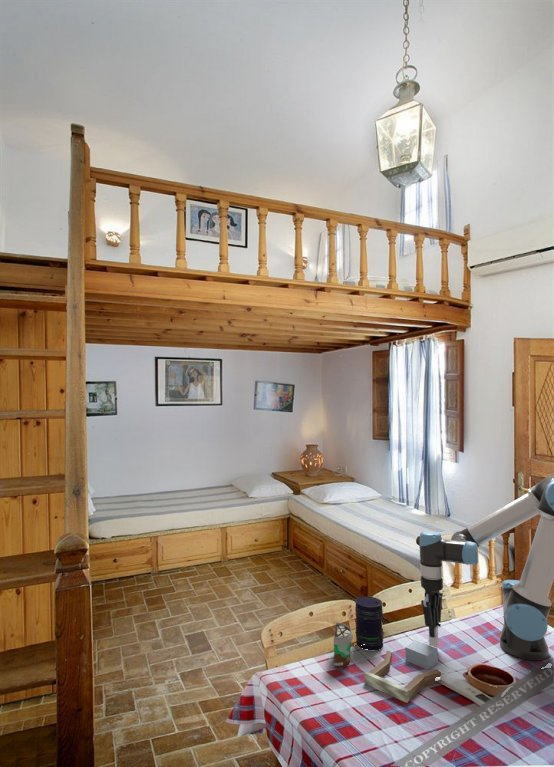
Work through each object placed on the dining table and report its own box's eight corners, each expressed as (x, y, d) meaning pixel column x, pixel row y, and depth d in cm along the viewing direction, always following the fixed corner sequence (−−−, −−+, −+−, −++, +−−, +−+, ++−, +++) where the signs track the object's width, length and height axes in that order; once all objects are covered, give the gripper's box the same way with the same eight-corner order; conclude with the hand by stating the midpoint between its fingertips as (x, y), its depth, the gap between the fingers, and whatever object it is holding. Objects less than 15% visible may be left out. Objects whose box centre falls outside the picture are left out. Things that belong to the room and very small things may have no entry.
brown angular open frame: (441, 679, 136) (441, 669, 136) (414, 706, 123) (414, 695, 123) (387, 657, 149) (387, 648, 149) (357, 680, 135) (357, 670, 136)
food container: (353, 672, 140) (352, 639, 141) (334, 670, 141) (333, 637, 142) (354, 653, 152) (353, 623, 153) (336, 651, 153) (336, 621, 154)
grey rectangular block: (438, 662, 146) (437, 648, 147) (427, 670, 141) (427, 655, 142) (416, 653, 152) (415, 640, 152) (405, 661, 147) (405, 647, 148)
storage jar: (353, 648, 156) (352, 604, 157) (358, 636, 165) (358, 594, 166) (381, 653, 152) (380, 608, 153) (385, 640, 161) (384, 598, 162)
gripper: (429, 569, 164) (431, 635, 162) (413, 578, 155) (415, 648, 152) (449, 574, 159) (451, 642, 156) (433, 583, 149) (436, 656, 147)
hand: (433, 645), depth 154 cm, fingers closed
